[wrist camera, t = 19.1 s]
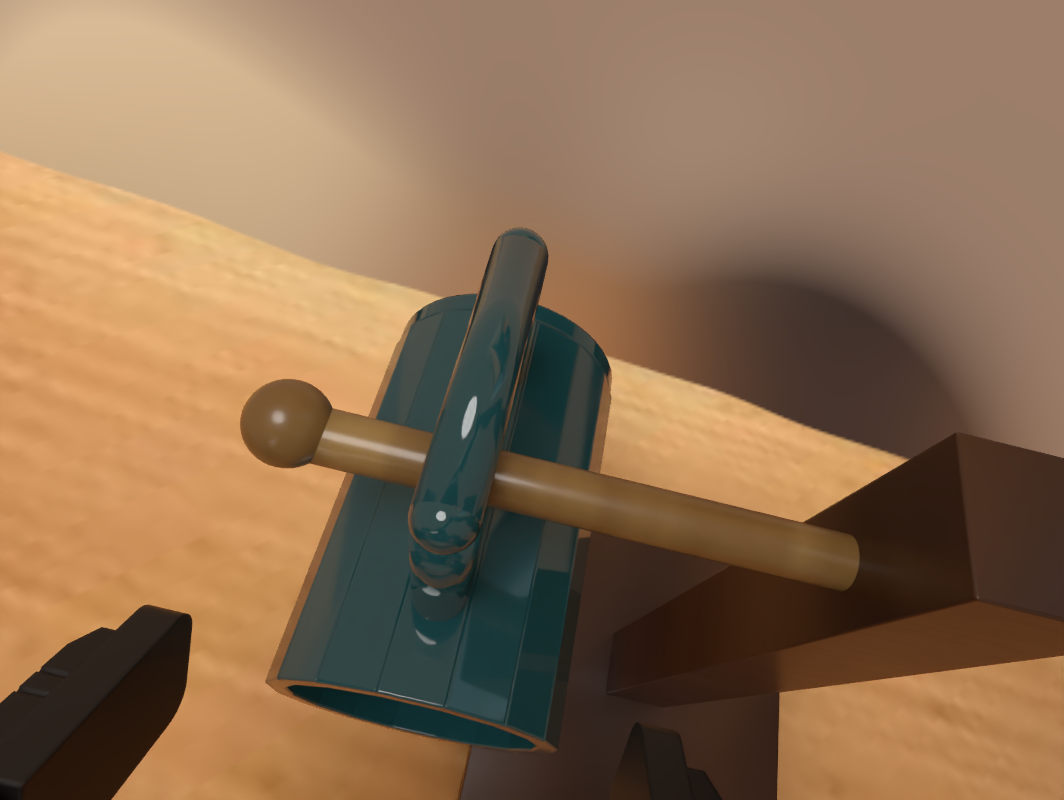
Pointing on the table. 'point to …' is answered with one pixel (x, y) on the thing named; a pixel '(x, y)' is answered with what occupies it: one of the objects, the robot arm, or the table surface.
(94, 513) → the table surface
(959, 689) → the table surface
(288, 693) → the mug
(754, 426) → the table surface
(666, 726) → the mug stand
